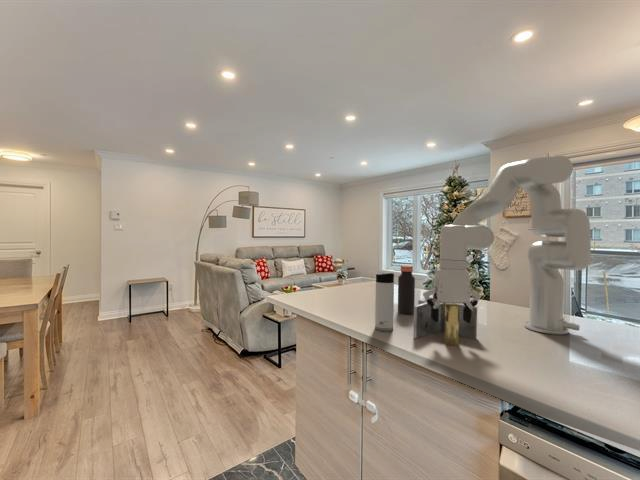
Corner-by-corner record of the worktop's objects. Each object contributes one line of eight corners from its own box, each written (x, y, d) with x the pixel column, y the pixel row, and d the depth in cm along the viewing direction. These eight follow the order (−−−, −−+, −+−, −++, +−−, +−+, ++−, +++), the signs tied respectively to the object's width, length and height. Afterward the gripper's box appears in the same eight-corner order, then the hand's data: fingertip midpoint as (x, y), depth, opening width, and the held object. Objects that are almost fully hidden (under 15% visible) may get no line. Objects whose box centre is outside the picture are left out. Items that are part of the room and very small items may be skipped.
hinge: (480, 335, 101) (480, 305, 100) (459, 350, 88) (460, 315, 88) (428, 324, 113) (428, 296, 113) (403, 335, 100) (404, 304, 100)
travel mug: (383, 333, 102) (384, 274, 102) (371, 327, 108) (372, 271, 108) (397, 330, 105) (398, 273, 105) (385, 325, 111) (386, 270, 111)
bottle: (416, 315, 126) (417, 266, 126) (399, 314, 126) (400, 266, 126) (411, 310, 133) (412, 265, 132) (396, 310, 133) (396, 265, 132)
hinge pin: (460, 343, 93) (461, 304, 93) (455, 346, 91) (456, 306, 90) (447, 340, 96) (448, 302, 96) (442, 343, 93) (442, 304, 93)
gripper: (474, 265, 97) (472, 318, 97) (420, 263, 97) (418, 317, 97) (487, 267, 89) (485, 325, 89) (428, 266, 89) (427, 324, 89)
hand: (450, 321), depth 93 cm, fingers open, 9 cm apart
